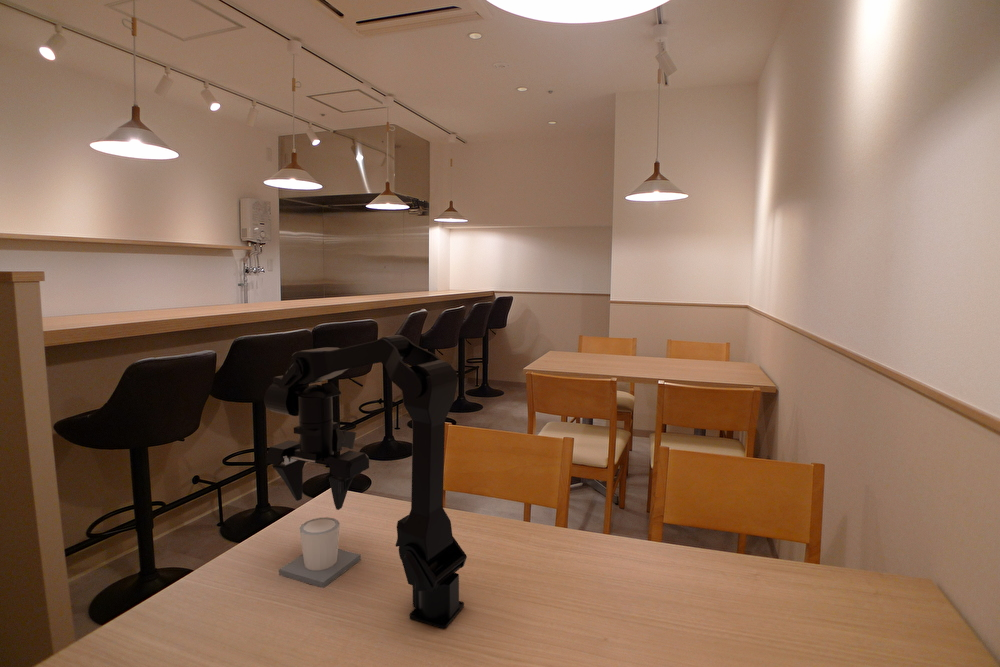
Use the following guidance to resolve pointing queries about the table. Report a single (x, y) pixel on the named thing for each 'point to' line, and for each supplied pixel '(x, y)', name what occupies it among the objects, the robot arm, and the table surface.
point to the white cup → (320, 542)
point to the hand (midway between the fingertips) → (318, 504)
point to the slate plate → (320, 577)
